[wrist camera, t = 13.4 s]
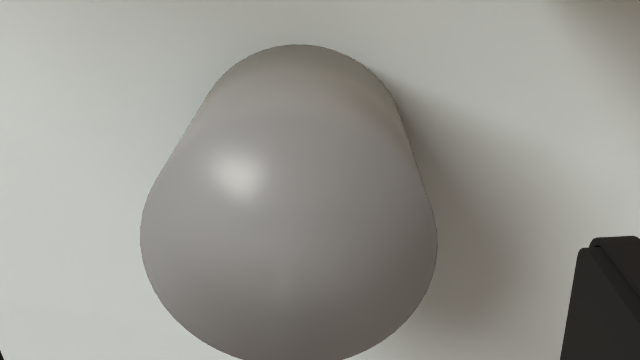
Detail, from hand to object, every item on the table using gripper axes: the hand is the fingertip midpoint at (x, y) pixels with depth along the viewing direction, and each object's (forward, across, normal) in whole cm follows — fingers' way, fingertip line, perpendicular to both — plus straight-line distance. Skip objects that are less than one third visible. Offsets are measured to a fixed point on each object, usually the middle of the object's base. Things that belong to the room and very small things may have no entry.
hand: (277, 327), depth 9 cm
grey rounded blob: (+9, 0, +1) cm, 9 cm away
